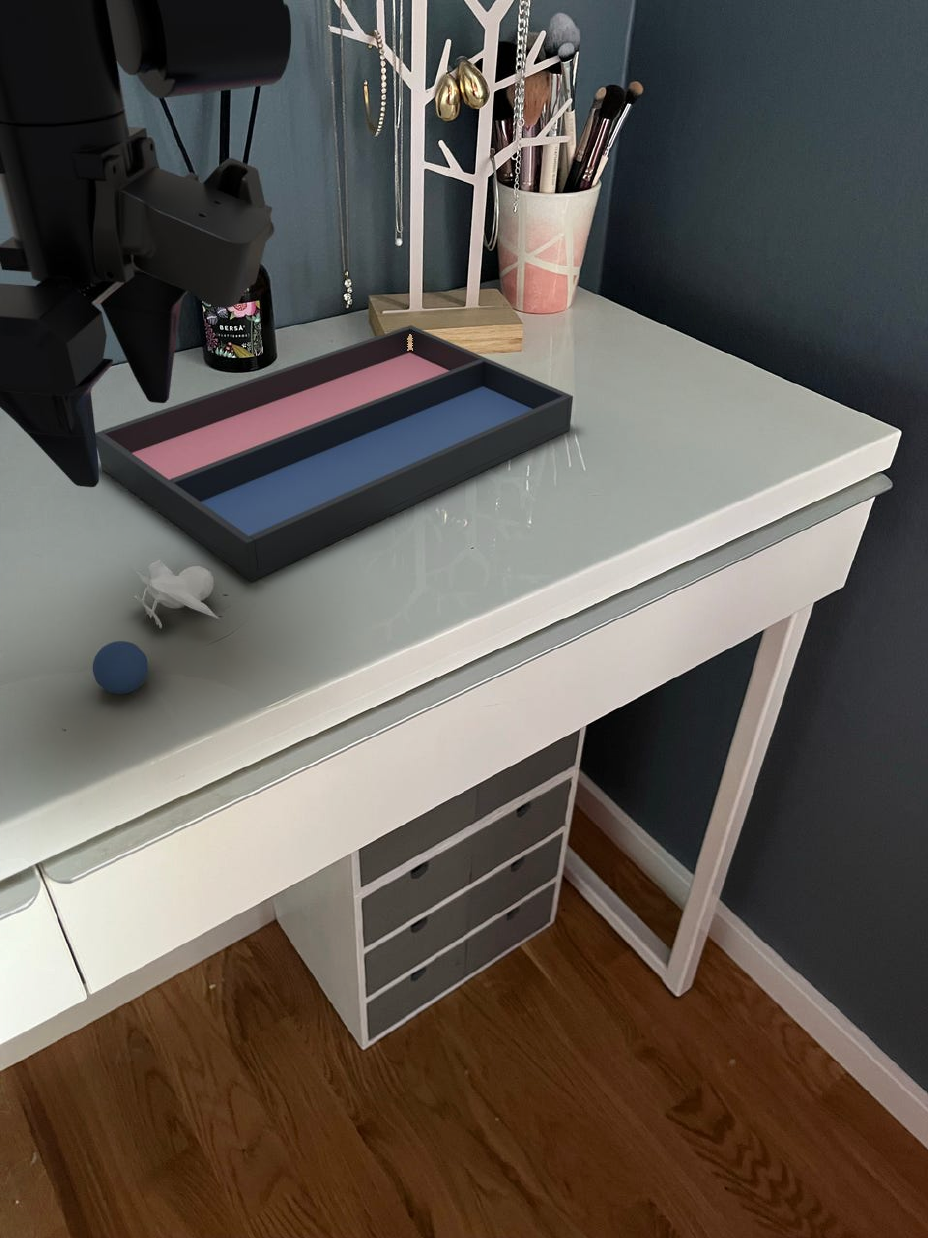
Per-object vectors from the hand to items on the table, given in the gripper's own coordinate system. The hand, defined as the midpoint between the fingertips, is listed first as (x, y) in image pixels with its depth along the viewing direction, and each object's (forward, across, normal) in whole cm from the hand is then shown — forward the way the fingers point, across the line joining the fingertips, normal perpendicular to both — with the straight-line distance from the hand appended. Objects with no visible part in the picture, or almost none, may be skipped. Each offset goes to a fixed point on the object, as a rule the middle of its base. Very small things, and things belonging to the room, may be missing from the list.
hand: (125, 440), depth 52 cm
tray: (+14, +26, -5) cm, 30 cm away
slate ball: (+12, -4, +1) cm, 13 cm away
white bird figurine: (+14, +3, 0) cm, 14 cm away
